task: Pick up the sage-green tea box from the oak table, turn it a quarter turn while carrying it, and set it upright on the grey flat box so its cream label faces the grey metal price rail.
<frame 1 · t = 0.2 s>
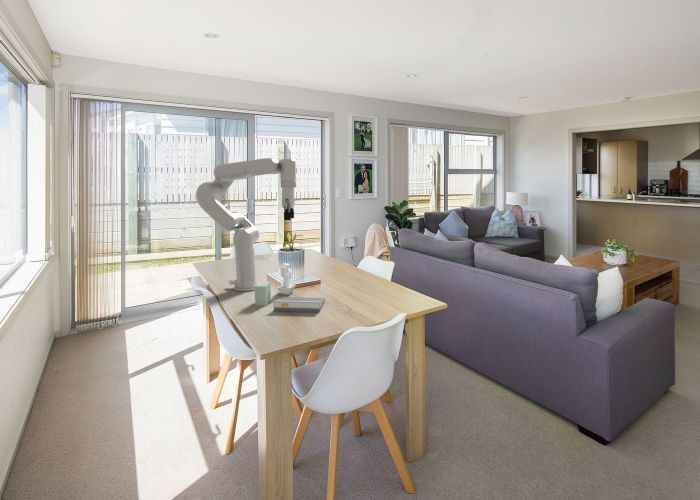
hand: (289, 219, 208), 36 cm above the table, tool pointing down, fingers open, 9 cm apart
figurine: (286, 293, 208), on the table
grey flat box: (300, 305, 187), on the table
tea box: (263, 303, 192), on the table
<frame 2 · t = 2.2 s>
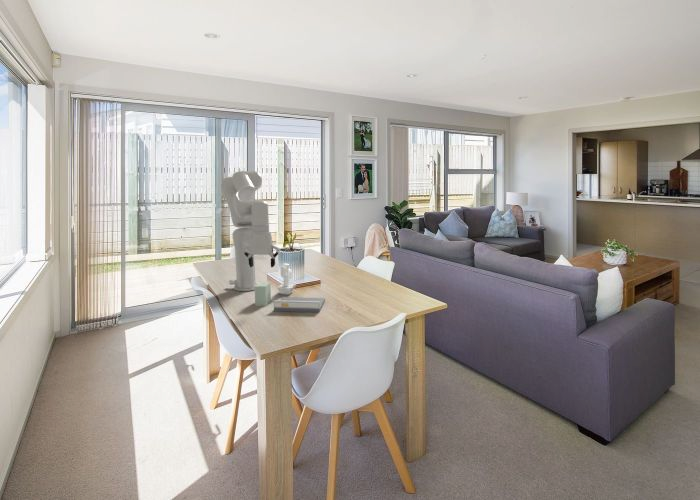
hand: (262, 266, 188), 17 cm above the table, tool pointing down, fingers open, 9 cm apart
nothing on the table moved.
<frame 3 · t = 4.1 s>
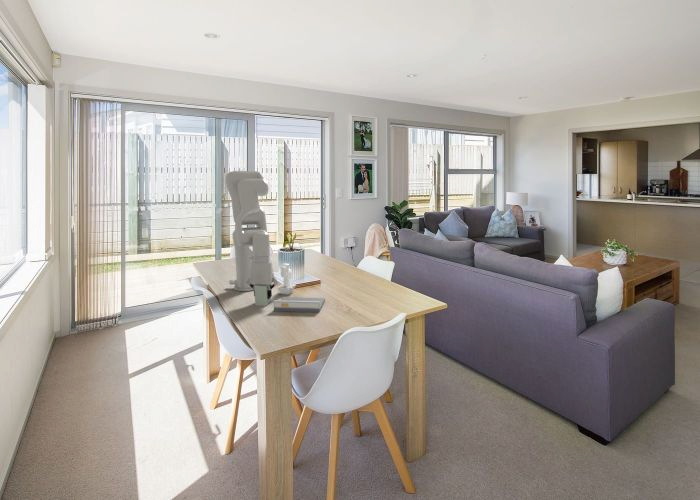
hand: (263, 297, 191), 2 cm above the table, tool pointing down, fingers closed on tea box, 5 cm apart
tea box: (263, 302, 192), on the table, touching gripper
everything else where it was.
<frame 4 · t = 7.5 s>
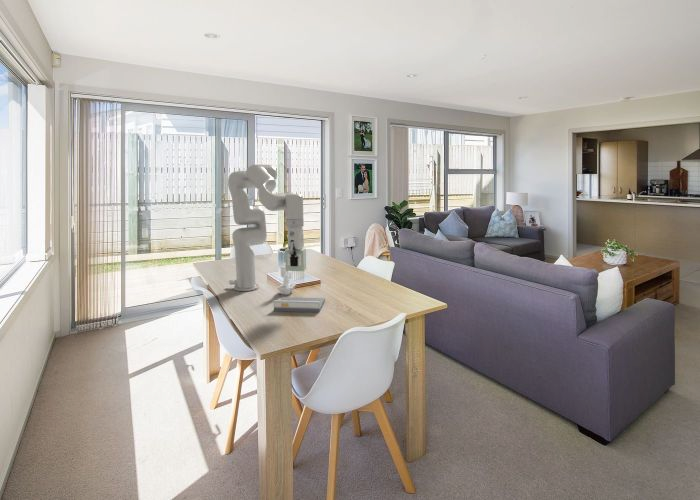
hand: (295, 264, 181), 20 cm above the table, tool pointing down, fingers closed on tea box, 5 cm apart
tea box: (296, 269, 182), point 17 cm above the table, touching gripper
everything else where it was.
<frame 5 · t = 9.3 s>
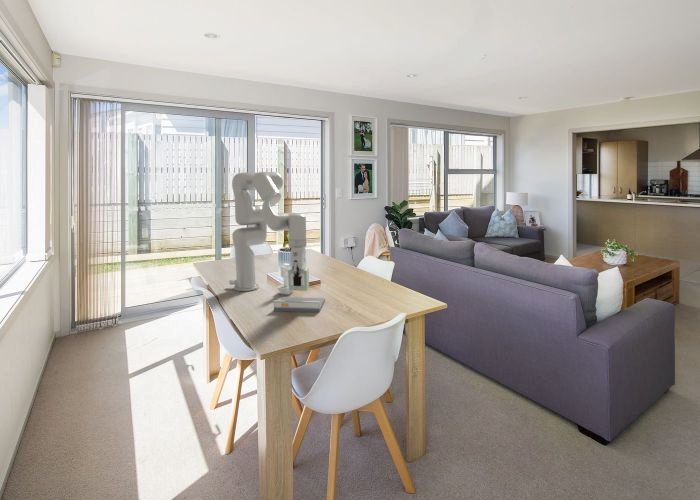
hand: (298, 283, 182), 11 cm above the table, tool pointing down, fingers closed on tea box, 5 cm apart
tea box: (299, 289, 183), point 9 cm above the table, touching gripper
everything else where it was.
when the fingers open (5 cm above the table, at t = 10.8 s): tea box drops 1 cm, resting on grey flat box.
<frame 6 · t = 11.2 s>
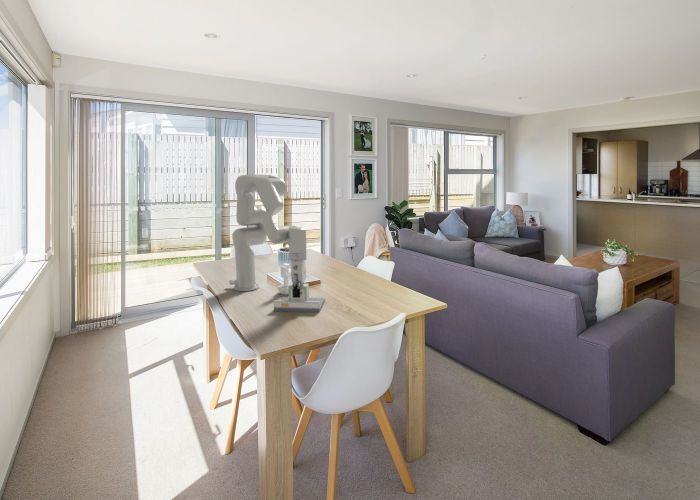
hand: (298, 294, 183), 6 cm above the table, tool pointing down, fingers open, 9 cm apart
tea box: (299, 304, 184), point 1 cm above the table, touching grey flat box
everything else where it was.
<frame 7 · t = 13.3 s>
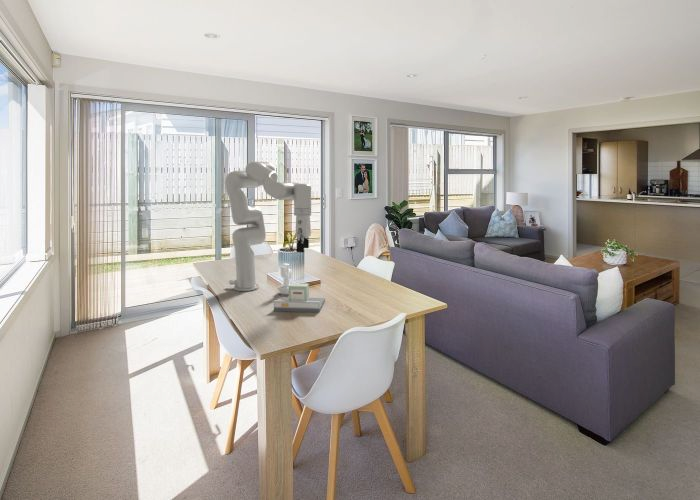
hand: (302, 250, 186), 25 cm above the table, tool pointing down, fingers open, 9 cm apart
nothing on the table moved.
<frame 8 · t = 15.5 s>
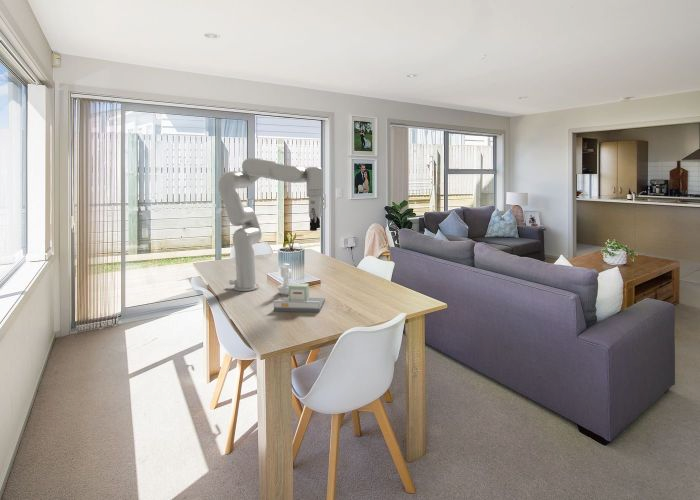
hand: (315, 229, 200), 32 cm above the table, tool pointing down, fingers open, 9 cm apart
nothing on the table moved.
at the end: tea box inside the target area on the grey flat box (0.2 cm from its centre), point 1.5 cm above the grey flat box's base; tea box tilted 0°; the gripper is holding nothing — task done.
